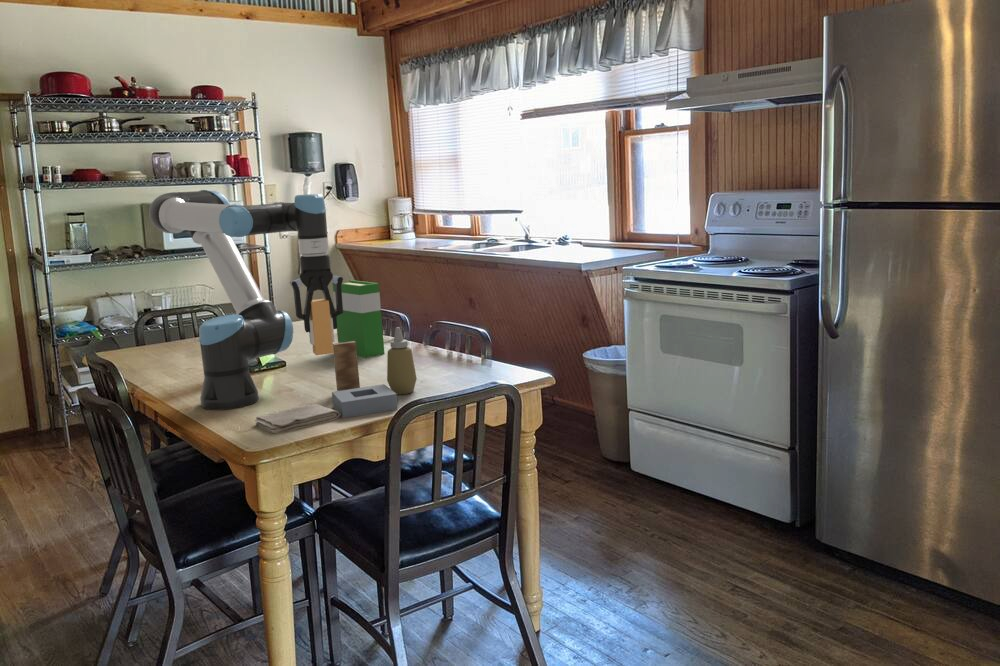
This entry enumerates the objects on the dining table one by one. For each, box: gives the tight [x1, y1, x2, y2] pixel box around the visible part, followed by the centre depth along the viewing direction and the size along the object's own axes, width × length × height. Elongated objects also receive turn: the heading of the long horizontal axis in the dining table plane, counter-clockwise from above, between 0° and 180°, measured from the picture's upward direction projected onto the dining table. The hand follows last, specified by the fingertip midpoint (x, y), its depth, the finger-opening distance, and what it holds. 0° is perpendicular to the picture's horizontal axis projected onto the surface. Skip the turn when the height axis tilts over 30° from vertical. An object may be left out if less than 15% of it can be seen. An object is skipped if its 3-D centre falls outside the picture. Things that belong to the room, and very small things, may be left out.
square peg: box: [310, 298, 334, 356], centre depth 221 cm, size 4×4×14 cm
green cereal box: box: [332, 279, 385, 359], centre depth 285 cm, size 18×7×24 cm, turn 40°
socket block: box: [331, 383, 399, 419], centre depth 216 cm, size 14×12×4 cm
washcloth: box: [254, 403, 341, 434], centre depth 207 cm, size 12×18×3 cm, turn 130°
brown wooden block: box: [333, 341, 361, 391], centre depth 233 cm, size 6×2×14 cm, turn 112°
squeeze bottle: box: [386, 326, 417, 395], centre depth 229 cm, size 8×8×18 cm
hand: (322, 342), depth 222 cm, fingers closed on square peg, 4 cm apart
